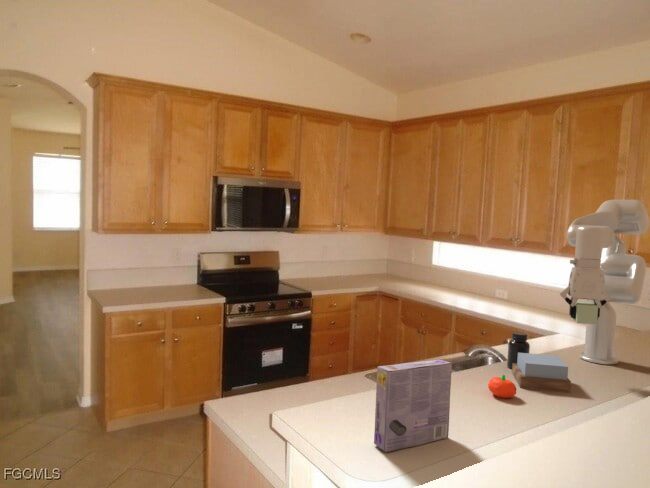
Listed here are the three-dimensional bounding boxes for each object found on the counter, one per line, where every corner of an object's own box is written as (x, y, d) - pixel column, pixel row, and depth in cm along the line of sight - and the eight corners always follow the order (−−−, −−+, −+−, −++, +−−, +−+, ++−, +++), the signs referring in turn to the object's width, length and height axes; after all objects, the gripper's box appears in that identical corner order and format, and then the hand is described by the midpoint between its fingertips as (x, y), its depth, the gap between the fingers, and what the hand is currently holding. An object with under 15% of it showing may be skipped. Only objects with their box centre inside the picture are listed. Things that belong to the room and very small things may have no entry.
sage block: (571, 319, 163) (572, 301, 163) (590, 320, 162) (591, 302, 161) (576, 323, 157) (577, 304, 157) (596, 324, 156) (598, 305, 156)
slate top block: (517, 364, 159) (517, 352, 159) (556, 367, 157) (557, 355, 157) (524, 376, 147) (525, 363, 147) (567, 380, 145) (568, 366, 145)
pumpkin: (499, 391, 145) (502, 370, 145) (519, 401, 137) (523, 378, 137) (480, 391, 142) (483, 369, 142) (500, 401, 134) (504, 378, 134)
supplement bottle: (525, 372, 162) (527, 337, 162) (504, 368, 166) (506, 333, 166) (530, 367, 168) (532, 333, 167) (510, 363, 172) (512, 330, 171)
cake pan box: (438, 429, 116) (442, 356, 115) (453, 437, 112) (457, 362, 111) (371, 444, 107) (374, 365, 106) (384, 454, 103) (388, 372, 102)
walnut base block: (511, 375, 161) (512, 363, 161) (557, 379, 158) (557, 367, 158) (520, 389, 147) (520, 376, 147) (569, 394, 144) (570, 381, 144)
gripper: (562, 263, 156) (558, 319, 157) (621, 266, 153) (617, 323, 154) (556, 261, 164) (552, 314, 165) (612, 264, 160) (608, 318, 161)
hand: (584, 318), depth 159 cm, fingers closed on sage block, 6 cm apart
